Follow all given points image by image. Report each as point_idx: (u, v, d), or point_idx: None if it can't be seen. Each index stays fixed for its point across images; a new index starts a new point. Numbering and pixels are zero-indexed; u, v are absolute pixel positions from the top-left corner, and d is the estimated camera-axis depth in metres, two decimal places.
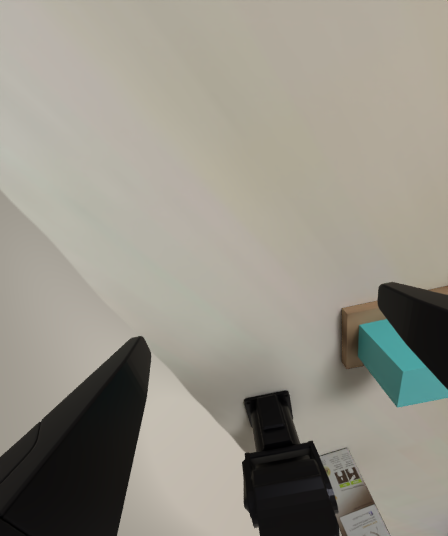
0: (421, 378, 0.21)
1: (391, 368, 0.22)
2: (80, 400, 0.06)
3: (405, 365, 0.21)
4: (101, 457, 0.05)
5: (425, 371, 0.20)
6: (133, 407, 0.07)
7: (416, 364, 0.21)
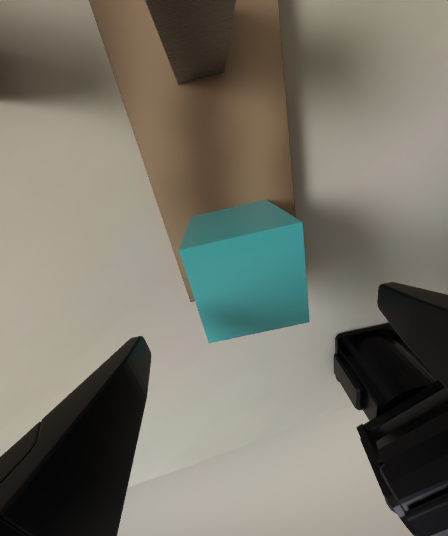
0: (229, 307, 0.11)
1: None
2: (80, 400, 0.06)
3: None
4: (101, 457, 0.05)
5: (209, 307, 0.11)
6: (133, 407, 0.07)
7: None
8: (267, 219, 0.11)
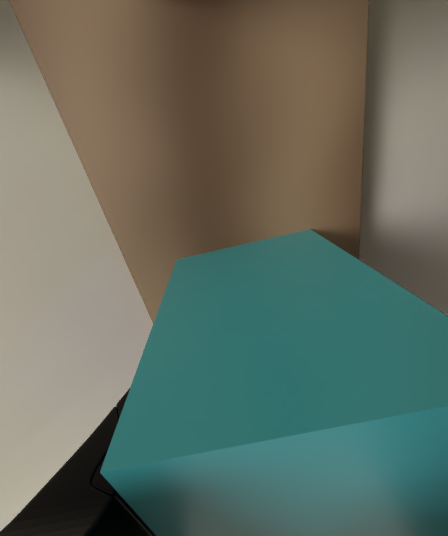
0: None
1: None
2: None
3: None
4: None
5: None
6: None
7: None
8: (365, 317, 0.04)
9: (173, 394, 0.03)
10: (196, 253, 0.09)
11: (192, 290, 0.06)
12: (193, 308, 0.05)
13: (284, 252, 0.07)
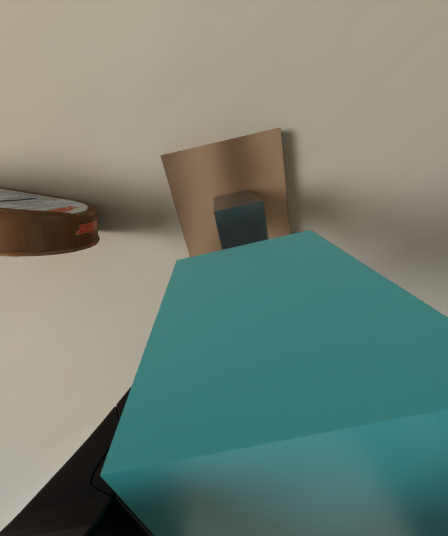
0: None
1: None
2: None
3: None
4: None
5: None
6: None
7: None
8: (366, 318, 0.04)
9: (173, 396, 0.03)
10: None
11: (192, 291, 0.06)
12: (193, 309, 0.05)
13: (284, 253, 0.07)
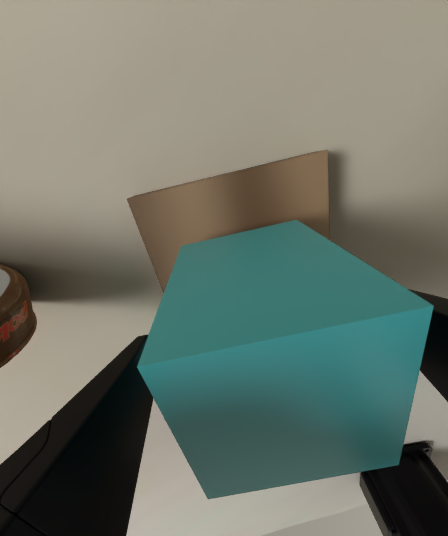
0: (248, 453, 0.05)
1: None
2: (90, 398, 0.06)
3: None
4: (111, 455, 0.05)
5: (208, 454, 0.05)
6: (141, 405, 0.07)
7: None
8: (326, 277, 0.05)
9: (183, 327, 0.05)
10: None
11: (195, 266, 0.07)
12: (196, 278, 0.07)
13: (272, 237, 0.08)
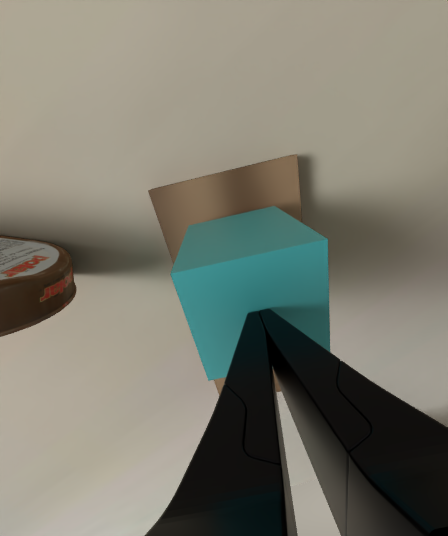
0: (233, 341, 0.09)
1: None
2: (253, 365, 0.05)
3: None
4: (279, 423, 0.05)
5: (208, 340, 0.09)
6: None
7: None
8: (280, 233, 0.09)
9: (194, 259, 0.08)
10: None
11: (200, 235, 0.11)
12: (201, 240, 0.10)
13: (254, 216, 0.12)
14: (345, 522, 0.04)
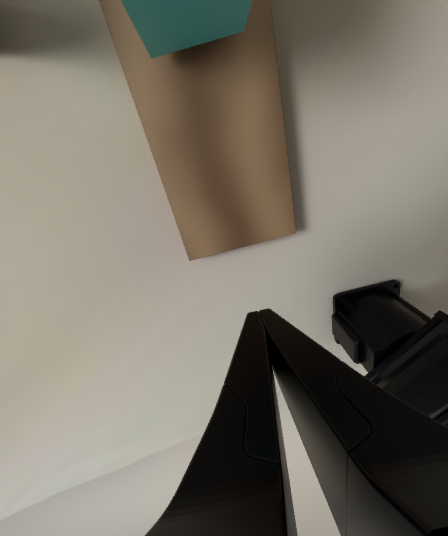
0: None
1: None
2: (253, 364, 0.05)
3: None
4: (279, 423, 0.05)
5: None
6: (273, 379, 0.07)
7: None
8: None
9: None
10: (197, 166, 0.16)
11: None
12: None
13: None
14: (345, 522, 0.04)
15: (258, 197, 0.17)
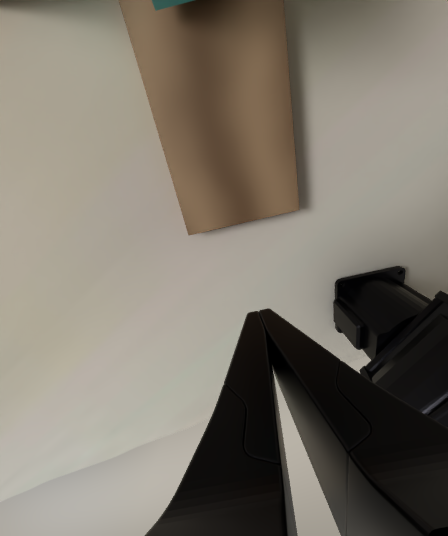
0: None
1: None
2: (253, 365, 0.05)
3: None
4: (279, 423, 0.05)
5: None
6: (273, 379, 0.07)
7: None
8: None
9: None
10: (199, 133, 0.15)
11: None
12: None
13: None
14: (345, 522, 0.04)
15: (261, 169, 0.16)
